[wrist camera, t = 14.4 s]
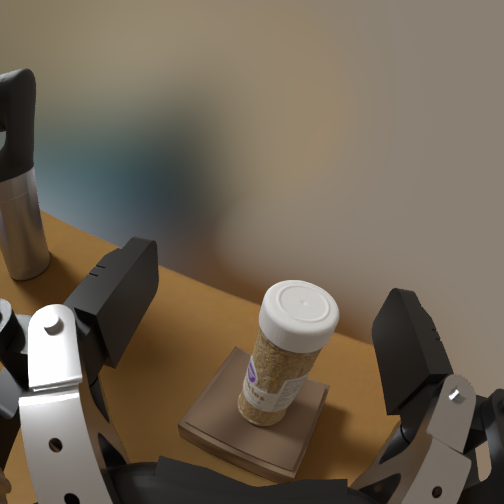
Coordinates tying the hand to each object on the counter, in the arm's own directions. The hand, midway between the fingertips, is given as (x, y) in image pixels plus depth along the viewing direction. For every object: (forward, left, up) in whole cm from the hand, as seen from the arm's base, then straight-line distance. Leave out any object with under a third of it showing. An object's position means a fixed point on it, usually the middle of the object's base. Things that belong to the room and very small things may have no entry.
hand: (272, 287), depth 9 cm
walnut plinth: (-3, +4, -22) cm, 23 cm away
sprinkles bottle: (-3, +4, -18) cm, 19 cm away
